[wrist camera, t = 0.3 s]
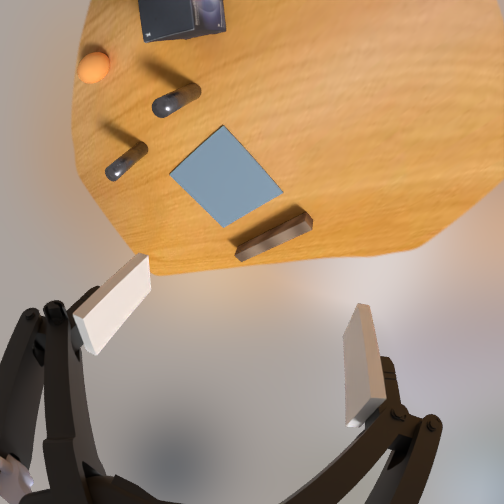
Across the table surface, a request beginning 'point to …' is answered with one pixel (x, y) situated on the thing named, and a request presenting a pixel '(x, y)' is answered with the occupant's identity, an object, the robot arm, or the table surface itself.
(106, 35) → the table surface
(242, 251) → the stopper wall
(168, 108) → the post
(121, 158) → the post
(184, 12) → the small box
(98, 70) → the ball
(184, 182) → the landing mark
